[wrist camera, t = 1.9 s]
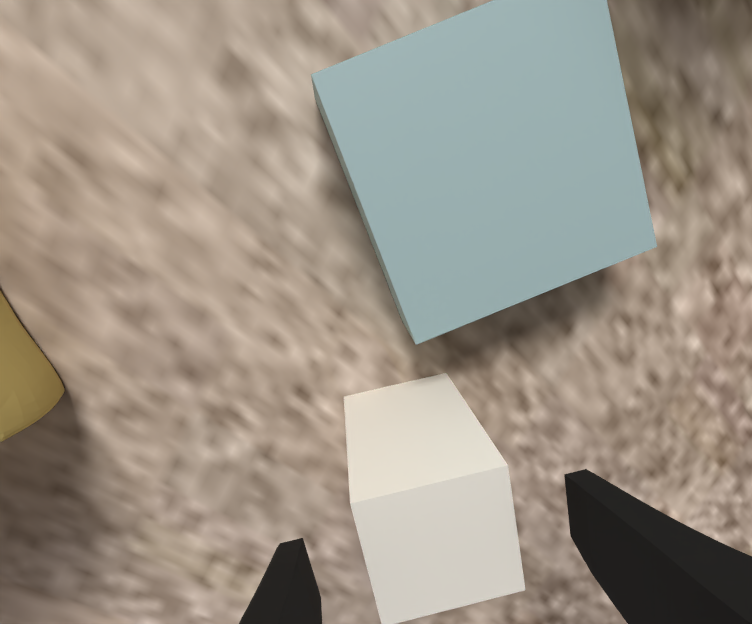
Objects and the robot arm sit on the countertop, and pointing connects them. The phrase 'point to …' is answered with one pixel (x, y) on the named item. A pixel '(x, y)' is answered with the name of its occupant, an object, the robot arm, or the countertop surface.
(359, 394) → the cream block
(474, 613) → the countertop surface
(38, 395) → the cheese
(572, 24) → the light blue block
